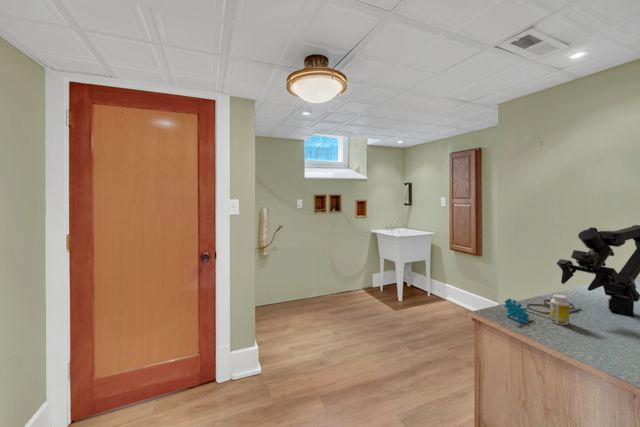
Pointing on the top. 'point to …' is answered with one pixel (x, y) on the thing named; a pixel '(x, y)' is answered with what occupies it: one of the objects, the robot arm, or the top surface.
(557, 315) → the supplement bottle
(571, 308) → the flange plate
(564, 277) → the robot arm
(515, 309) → the gear
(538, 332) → the top surface
